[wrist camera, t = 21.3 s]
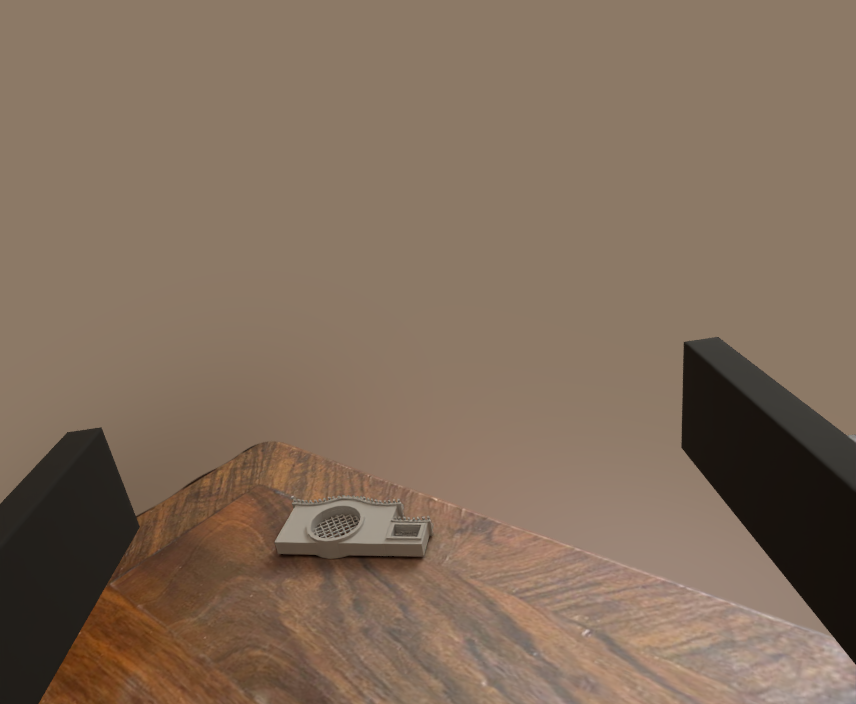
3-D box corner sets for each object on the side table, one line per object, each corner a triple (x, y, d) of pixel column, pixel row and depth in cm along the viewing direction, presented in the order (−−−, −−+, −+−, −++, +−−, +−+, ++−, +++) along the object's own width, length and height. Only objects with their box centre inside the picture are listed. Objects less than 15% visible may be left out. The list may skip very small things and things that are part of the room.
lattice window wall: (427, 561, 46) (440, 509, 51) (424, 541, 45) (437, 490, 50) (274, 557, 48) (301, 509, 54) (268, 539, 48) (297, 491, 53)
